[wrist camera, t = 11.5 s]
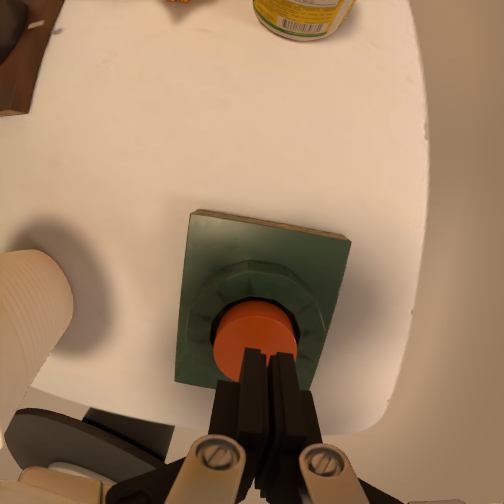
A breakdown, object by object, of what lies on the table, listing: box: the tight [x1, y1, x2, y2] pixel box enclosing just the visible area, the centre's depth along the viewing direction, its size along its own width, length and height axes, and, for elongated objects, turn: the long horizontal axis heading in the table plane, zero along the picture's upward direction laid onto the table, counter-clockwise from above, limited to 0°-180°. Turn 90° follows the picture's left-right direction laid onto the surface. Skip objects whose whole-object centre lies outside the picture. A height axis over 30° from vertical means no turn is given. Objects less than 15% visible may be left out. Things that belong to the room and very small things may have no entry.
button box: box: [174, 210, 351, 391], centre depth 16 cm, size 10×8×4 cm
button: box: [213, 300, 297, 382], centre depth 13 cm, size 4×4×2 cm
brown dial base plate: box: [0, 0, 64, 116], centre depth 12 cm, size 12×11×2 cm
